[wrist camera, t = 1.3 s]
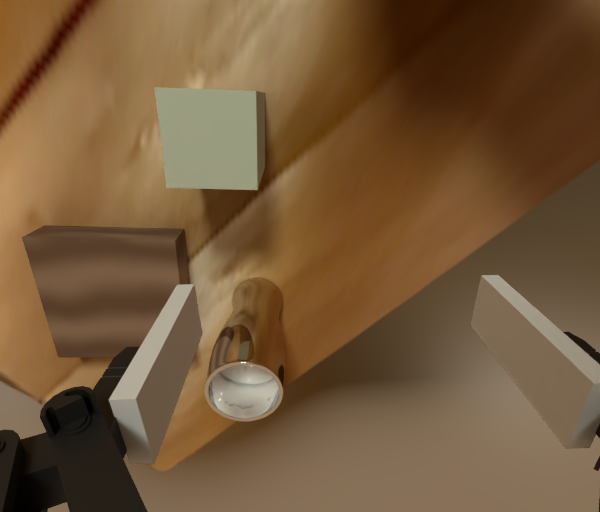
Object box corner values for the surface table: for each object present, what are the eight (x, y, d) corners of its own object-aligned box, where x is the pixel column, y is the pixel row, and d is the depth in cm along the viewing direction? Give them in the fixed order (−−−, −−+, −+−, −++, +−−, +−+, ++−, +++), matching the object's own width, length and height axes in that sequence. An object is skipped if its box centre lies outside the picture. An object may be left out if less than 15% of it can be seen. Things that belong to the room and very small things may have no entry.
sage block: (190, 89, 34) (154, 87, 24) (264, 92, 34) (256, 91, 25) (197, 164, 36) (166, 187, 27) (265, 166, 37) (257, 190, 28)
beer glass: (244, 264, 41) (222, 347, 27) (296, 289, 43) (300, 380, 29) (219, 309, 44) (188, 406, 30) (270, 331, 45) (262, 433, 31)
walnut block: (46, 224, 39) (22, 237, 35) (185, 227, 40) (174, 240, 36) (76, 336, 45) (58, 357, 41) (196, 337, 46) (188, 358, 42)
